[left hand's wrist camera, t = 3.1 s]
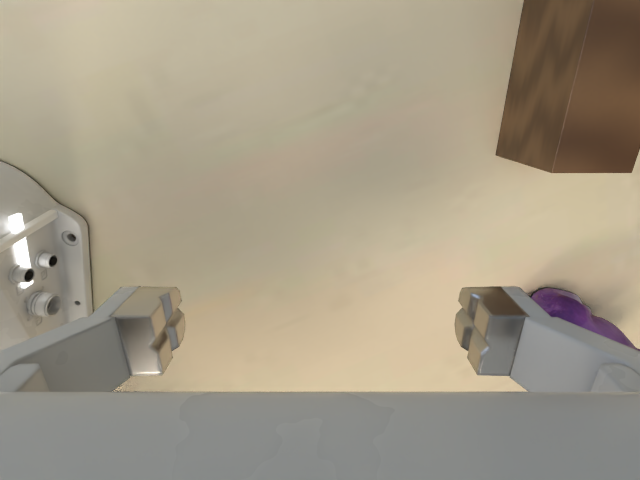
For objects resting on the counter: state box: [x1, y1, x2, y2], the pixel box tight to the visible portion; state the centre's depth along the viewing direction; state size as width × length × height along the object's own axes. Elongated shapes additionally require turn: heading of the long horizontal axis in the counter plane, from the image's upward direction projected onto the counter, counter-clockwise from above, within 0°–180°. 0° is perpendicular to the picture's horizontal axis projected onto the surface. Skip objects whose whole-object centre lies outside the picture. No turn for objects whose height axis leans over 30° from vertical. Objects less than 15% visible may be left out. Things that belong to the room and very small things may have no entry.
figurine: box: [530, 288, 640, 351], centre depth 33 cm, size 9×10×15 cm
